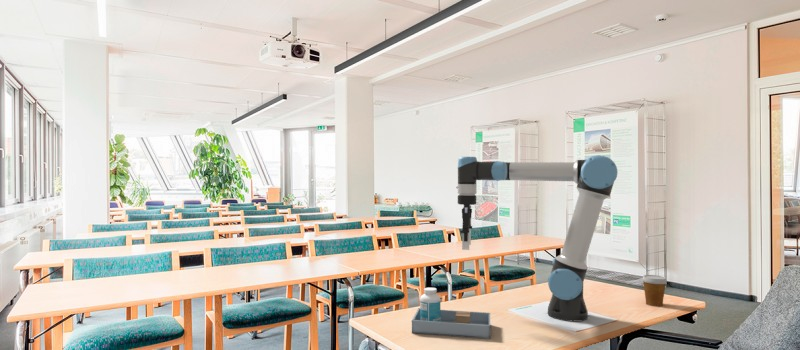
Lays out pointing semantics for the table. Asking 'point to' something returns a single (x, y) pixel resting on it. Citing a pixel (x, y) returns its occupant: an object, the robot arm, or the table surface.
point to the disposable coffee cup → (654, 289)
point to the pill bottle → (430, 306)
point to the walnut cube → (463, 317)
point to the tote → (454, 325)
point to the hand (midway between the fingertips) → (466, 247)
